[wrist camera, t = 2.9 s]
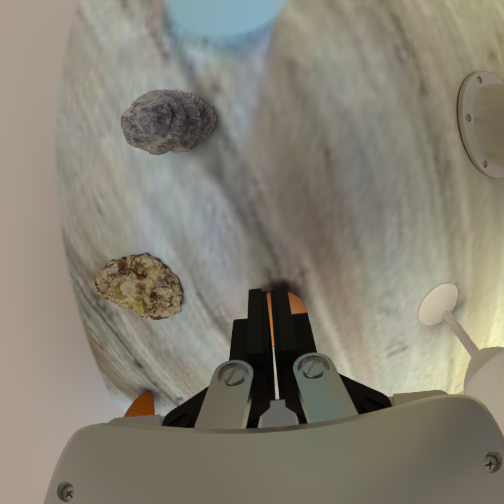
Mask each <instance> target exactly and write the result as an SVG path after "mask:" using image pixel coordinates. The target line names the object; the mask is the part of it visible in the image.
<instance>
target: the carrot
mask: <svg viewBox="0 0 504 504" xmlns="http://www.w3.org/2000/svg"><path fill="white" fill-rule="evenodd" d="M148 415H155V410H154V400H153V396H152V393H151V392H150V391H147V392H145V393H143V394H142V395H140V396H139V397H138V398H137V399H136V400H135V401H134V402H133V403H132V405H131V406H130V407H129V409H128V411H127V412H126V414H125V416H124V417H136V416H148Z"/></svg>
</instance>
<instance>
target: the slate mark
mask: <svg viewBox="0 0 504 504" xmlns="http://www.w3.org/2000/svg"><path fill="white" fill-rule="evenodd" d="M270 404H271V408H269V409H268V410H267V411H266V412H265V413H264V414H262V423H261V428H268V427H281V426H291V425H297V422H296V419H295V413H294V412H293V411H291V410H289V409H288V408H286V407H285V399H284V400H274V401H270Z"/></svg>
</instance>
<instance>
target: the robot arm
mask: <svg viewBox="0 0 504 504" xmlns="http://www.w3.org/2000/svg"><path fill="white" fill-rule="evenodd" d="M458 119H459V126H460V131H461V135H462V139H463V142H464V145H465V148H466V150H467V152H468V154H469V156H470V158H471V160H472V161H473V163H474V164H475V166H476V167H477V168H478V169H479V170H480V171H481V172H482V173H484V174H486V175H488V176H491V177H493V178H504V81H503V80H501V79H500V78H499V77H498V76H496V75H495V74H493V73H491V72H487V71H481V72H475V73H472V74H471V75H469V76H468V77H467V78H466V80H465V81H464V83H463V85H462V87H461V90H460V95H459V101H458ZM270 296H271V309H272V322H273V336H274V350H275V360H276V370H277V379H278V389H279V399H280V400H284V399H285V407H286V408H288V409H289V410H291V411H293V412H294V413H295V419H296V422H297V425H291V426H281V427H268V428H261V423H262V414H264V413H265V412H266V411H267V410H268V409H269V408H271V404H270V401H274V400H275V384H274V366H273V350H272V336H271V327H270V319H269V310H268V301H267V293H266V291H262V290H261V288H260V289H250V290H249V298H248V319H236V320H234V322H233V330H232V339H231V348H230V357H229V361H227V362H224V363H222V364H221V365H219V366H218V367H217V368H216V370H215V371H214V374H213V376H212V379H211V382H210V385H209V386H208V387H207V388H205V389H204V390H202V391H201V392H199V393H198V394H197V395H195V396H194V397H192V398H191V399H189V400H188V401H186V402H184V403H183V404H181V405H180V406H178V407H177V408H175V409H174V410H172V411H171V412H169V413H168V414H167V415H166V416H162V417H161V415H160V414H158V415H148V416H136V417H121V418H115V419H113V420H111V421H109V423H100V424H94V425H89V426H86V427H83V428H81V429H79V430H77V431H76V432H75V433H74V434H73V435H72V436H71V438H70V439H69V441H68V442H67V444H66V446H65V448H64V449H63V451H62V453H61V456H60V458H59V460H58V463H57V465H56V467H55V470H54V473H53V475H52V478H51V481H50V484H49V488H48V491H47V494H46V498H45V501H44V504H504V435H503V433H502V431H501V430H500V428H499V426H498V424H497V422H496V420H495V419H494V417H493V415H492V414H491V413H490V411H489V410H488V408H487V407H486V406H485V405H484V404H483V403H482V402H481V401H480V400H479V399H477V398H476V397H473V396H470V395H463V394H447V393H446V392H444V391H442V390H431V391H422V392H412V393H400V394H393V397H387V396H386V395H384V394H383V393H381V392H378V391H376V390H374V389H371V388H369V387H367V386H365V385H363V384H360V383H358V382H356V381H354V380H352V379H349V378H347V377H345V376H343V375H341V374H339V373H338V372H337V370H336V368H335V366H334V364H333V362H332V360H331V359H330V358H329V357H328V356H326V355H324V354H321V353H317V350H316V346H315V342H314V338H313V333H312V329H311V325H310V321H309V317H308V314H307V312H306V313H297V314H292V313H291V307H290V301H289V296H288V290H287V286H279V287H275V290H272V291H270Z"/></svg>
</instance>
